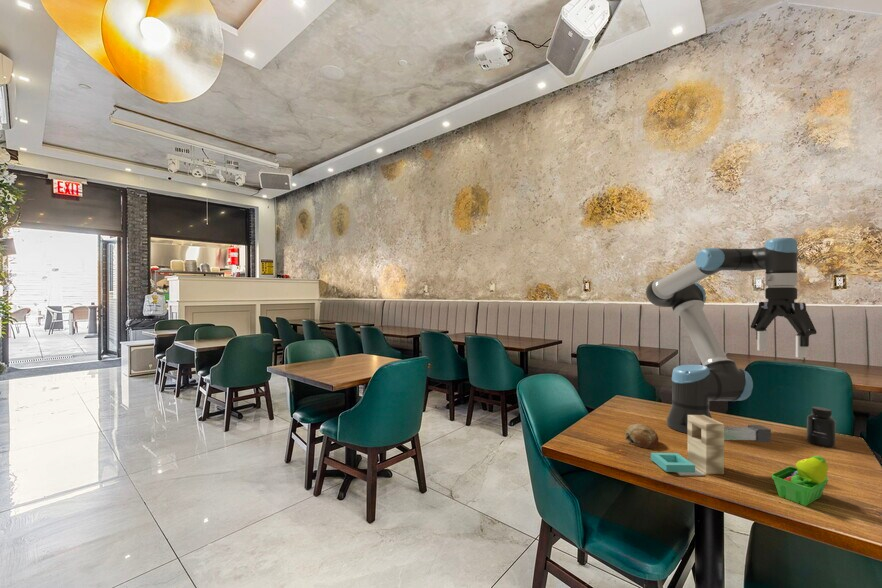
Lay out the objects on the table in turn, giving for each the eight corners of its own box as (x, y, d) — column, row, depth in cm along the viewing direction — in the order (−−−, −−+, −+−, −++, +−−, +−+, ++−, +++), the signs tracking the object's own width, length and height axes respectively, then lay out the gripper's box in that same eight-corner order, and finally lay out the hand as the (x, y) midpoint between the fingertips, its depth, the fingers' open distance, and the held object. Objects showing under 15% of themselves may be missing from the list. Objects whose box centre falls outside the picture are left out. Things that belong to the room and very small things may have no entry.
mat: (658, 459, 113) (658, 458, 113) (681, 459, 113) (681, 458, 113) (679, 475, 103) (679, 473, 103) (705, 475, 103) (705, 474, 103)
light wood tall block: (706, 473, 104) (706, 424, 104) (687, 461, 112) (687, 414, 112) (723, 474, 104) (724, 424, 104) (703, 461, 112) (704, 414, 112)
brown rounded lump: (622, 448, 130) (615, 429, 129) (641, 432, 134) (634, 413, 132) (647, 460, 121) (640, 439, 120) (667, 442, 124) (660, 422, 123)
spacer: (677, 459, 112) (650, 459, 112) (677, 453, 112) (650, 452, 112) (695, 472, 104) (666, 471, 104) (695, 465, 104) (666, 464, 104)
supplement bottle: (815, 446, 124) (815, 410, 124) (801, 439, 130) (801, 404, 130) (841, 449, 122) (841, 412, 122) (826, 441, 128) (826, 406, 128)
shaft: (710, 441, 106) (710, 429, 107) (701, 436, 110) (701, 424, 110) (770, 442, 106) (770, 429, 106) (759, 437, 110) (760, 425, 110)
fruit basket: (789, 484, 99) (790, 442, 99) (836, 500, 91) (836, 454, 91) (769, 495, 93) (770, 450, 94) (818, 513, 86) (818, 464, 86)
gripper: (738, 287, 131) (737, 348, 131) (807, 286, 106) (807, 360, 106) (759, 287, 131) (759, 348, 131) (834, 286, 106) (833, 360, 106)
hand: (780, 353), depth 118 cm, fingers open, 13 cm apart
